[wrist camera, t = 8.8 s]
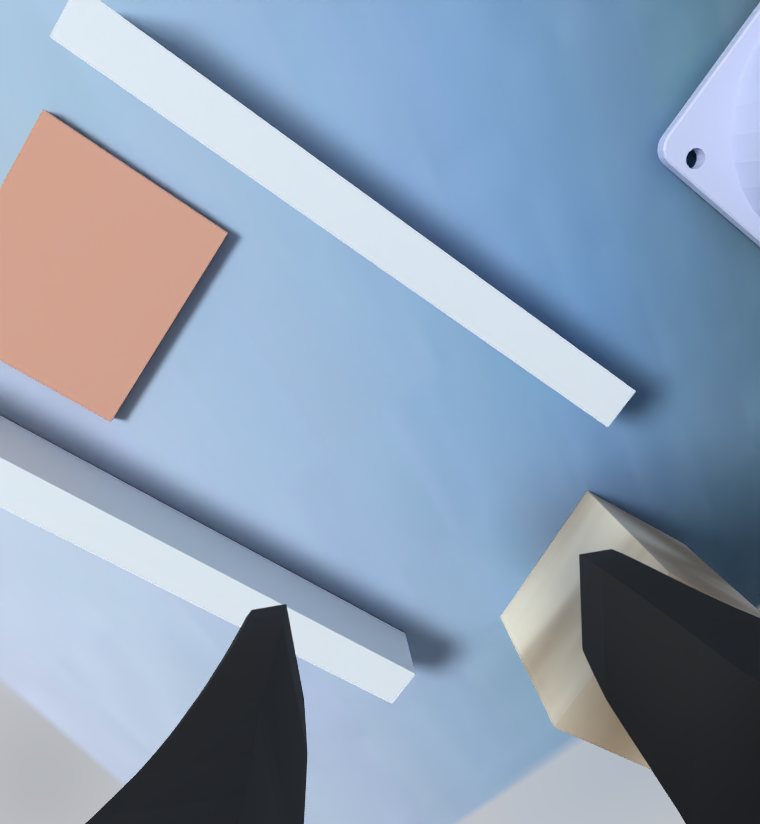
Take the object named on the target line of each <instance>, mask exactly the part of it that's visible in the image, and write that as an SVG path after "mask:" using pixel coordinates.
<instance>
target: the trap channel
mask: <svg viewBox="0 0 760 824" xmlns="http://www.w3.org/2000/svg"><path fill="white" fill-rule="evenodd" d="M49 37H51V38H52V39H53V40H55V41H56V42H58V43H59V44H61V45H62V46H63V47H65V48H66V49H68V50H69V51H71V52H72V53H73V54H75V55H76V56H78V57H79V58H81V59H82V60H83V61H85V62H86V63H88V64H89V65H91V66H92V67H93V68H95V69H96V70H98V71H99V72H101V73H102V74H103V75H105V76H106V77H108V78H109V79H111V80H112V81H113V82H115V83H116V84H118V85H119V86H121V87H122V88H123V89H125V90H126V91H128V92H129V93H131V94H132V95H133V96H135V97H136V98H138V99H139V100H141V101H142V102H144V103H145V104H146V105H148V106H149V107H151V108H152V109H154V110H155V111H156V112H158V113H159V114H161V115H162V116H164V117H165V118H166V119H168V120H169V121H171V122H172V123H174V124H175V125H176V126H178V127H179V128H181V129H182V130H184V131H185V132H186V133H188V134H189V135H191V136H192V137H194V138H195V139H196V140H198V141H199V142H201V143H202V144H204V145H205V146H206V147H208V148H209V149H211V150H212V151H214V152H215V153H216V154H218V155H219V156H221V157H222V158H224V159H225V160H226V161H228V162H229V163H231V164H232V165H234V166H235V167H236V168H238V169H239V170H241V171H242V172H244V173H245V174H246V175H248V176H249V177H251V178H252V179H254V180H255V181H256V182H258V183H259V184H261V185H262V186H264V187H265V188H266V189H268V190H269V191H271V192H272V193H274V194H275V195H276V196H278V197H279V198H281V199H282V200H284V201H285V202H286V203H288V204H289V205H291V206H292V207H294V208H295V209H296V210H298V211H299V212H301V213H302V214H304V215H305V216H306V217H308V218H309V219H311V220H312V221H314V222H315V223H316V224H318V225H319V226H321V227H322V228H324V229H325V230H326V231H328V232H329V233H331V234H332V235H334V236H335V237H336V238H338V239H339V240H341V241H342V242H344V243H345V244H346V245H348V246H349V247H351V248H352V249H354V250H355V251H357V252H358V253H359V254H361V255H362V256H364V257H365V258H367V259H368V260H369V261H371V262H372V263H374V264H375V265H377V266H378V267H379V268H381V269H382V270H384V271H385V272H387V273H388V274H389V275H391V276H392V277H394V278H395V279H397V280H398V281H399V282H401V283H402V284H404V285H405V286H407V287H408V288H409V289H411V290H412V291H414V292H415V293H417V294H418V295H419V296H421V297H422V298H424V299H425V300H427V301H428V302H429V303H431V304H432V305H434V306H435V307H437V308H438V309H439V310H441V311H442V312H444V313H445V314H447V315H448V316H449V317H451V318H452V319H454V320H455V321H457V322H458V323H459V324H461V325H462V326H464V327H465V328H467V329H468V330H469V331H471V332H472V333H474V334H475V335H477V336H478V337H479V338H481V339H482V340H484V341H485V342H487V343H488V344H489V345H491V346H492V347H494V348H495V349H497V350H498V351H499V352H501V353H502V354H504V355H505V356H507V357H508V358H509V359H511V360H512V361H514V362H515V363H517V364H518V365H519V366H521V367H522V368H524V369H525V370H527V371H528V372H529V373H531V374H532V375H534V376H535V377H537V378H538V379H539V380H541V381H542V382H544V383H545V384H547V385H548V386H549V387H551V388H552V389H554V390H555V391H557V392H558V393H559V394H561V395H562V396H564V397H565V398H567V399H568V400H570V401H571V402H572V403H574V404H575V405H577V406H578V407H580V408H581V409H582V410H584V411H585V412H587V413H588V414H590V415H591V416H592V417H594V418H595V419H597V420H598V421H600V422H601V423H602V424H604V425H605V426H607V427H608V426H609V425H610V424H611V423H612V421H613V420H614V419H615V417H616V416H617V415H618V414H619V412H620V411H621V410H622V408H623V407H624V406H625V405H626V403H627V402H628V401H629V399H630V398H631V397H632V396H633V394H634V393H635V392H636V391H635V390H634V389H632V388H631V387H630V386H628V385H627V384H625V383H624V382H623V381H621V380H620V379H619V378H617V377H616V376H614V375H613V374H612V373H610V372H609V371H608V370H606V369H605V368H603V367H602V366H601V365H599V364H598V363H597V362H595V361H594V360H592V359H591V358H590V357H588V356H587V355H586V354H584V353H583V352H582V351H580V350H579V349H577V348H576V347H575V346H573V345H572V344H571V343H569V342H568V341H566V340H565V339H564V338H562V337H561V336H560V335H558V334H557V333H555V332H554V331H553V330H551V329H550V328H549V327H547V326H546V325H544V324H543V323H542V322H540V321H539V320H538V319H536V318H535V317H533V316H532V315H531V314H529V313H528V312H527V311H525V310H524V309H522V308H521V307H520V306H518V305H517V304H516V303H514V302H513V301H512V300H510V299H509V298H507V297H506V296H505V295H503V294H502V293H501V292H499V291H498V290H496V289H495V288H494V287H492V286H491V285H490V284H488V283H487V282H485V281H484V280H483V279H481V278H480V277H479V276H477V275H476V274H474V273H473V272H472V271H470V270H469V269H468V268H466V267H465V266H463V265H462V264H461V263H459V262H458V261H457V260H455V259H454V258H452V257H451V256H450V255H448V254H447V253H446V252H444V251H443V250H442V249H440V248H439V247H437V246H436V245H435V244H433V243H432V242H431V241H429V240H428V239H426V238H425V237H424V236H422V235H421V234H420V233H418V232H417V231H415V230H414V229H413V228H411V227H410V226H409V225H407V224H406V223H404V222H403V221H402V220H400V219H399V218H398V217H396V216H395V215H393V214H392V213H391V212H389V211H388V210H387V209H385V208H384V207H382V206H381V205H380V204H378V203H377V202H376V201H374V200H373V199H372V198H370V197H369V196H367V195H366V194H365V193H363V192H362V191H361V190H359V189H358V188H356V187H355V186H354V185H352V184H351V183H350V182H348V181H347V180H345V179H344V178H343V177H341V176H340V175H339V174H337V173H336V172H334V171H333V170H332V169H330V168H329V167H328V166H326V165H325V164H323V163H322V162H321V161H319V160H318V159H317V158H315V157H314V156H312V155H311V154H310V153H308V152H307V151H306V150H304V149H303V148H301V147H300V146H299V145H297V144H296V143H295V142H293V141H292V140H291V139H289V138H288V137H286V136H285V135H284V134H282V133H281V132H280V131H278V130H277V129H275V128H274V127H273V126H271V125H270V124H269V123H267V122H266V121H264V120H263V119H262V118H260V117H259V116H258V115H256V114H255V113H253V112H252V111H251V110H249V109H248V108H247V107H245V106H244V105H242V104H241V103H240V102H238V101H237V100H236V99H234V98H233V97H231V96H230V95H229V94H227V93H226V92H225V91H223V90H222V89H221V88H219V87H218V86H216V85H215V84H214V83H212V82H211V81H210V80H208V79H207V78H205V77H204V76H203V75H201V74H200V73H199V72H197V71H196V70H194V69H193V68H192V67H190V66H189V65H188V64H186V63H185V62H183V61H182V60H181V59H179V58H178V57H177V56H175V55H174V54H172V53H171V52H170V51H168V50H167V49H166V48H164V47H163V46H161V45H160V44H159V43H157V42H156V41H155V40H153V39H152V38H151V37H149V36H148V35H146V34H145V33H144V32H142V31H141V30H140V29H138V28H137V27H135V26H134V25H133V24H131V23H130V22H129V21H127V20H126V19H124V18H123V17H122V16H120V15H119V14H118V13H116V12H115V11H113V10H112V9H111V8H109V7H108V6H107V5H105V4H104V3H102V2H101V1H100V0H69V1H68V3H67V5H66V7H65V8H64V10H63V12H62V14H61V16H60V18H59V20H58V21H57V23H56V25H55V27H54V29H53V31H52V33H51V35H50V36H49ZM227 234H228V232H227V231H225V230H224V229H222V228H221V227H219V226H218V225H216V224H215V223H213V222H212V221H210V220H209V219H207V218H206V217H204V216H203V215H201V214H200V213H198V212H197V211H195V210H194V209H192V208H191V207H189V206H188V205H186V204H185V203H183V202H182V201H180V200H179V199H178V198H176V197H175V196H173V195H172V194H170V193H169V192H167V191H166V190H164V189H163V188H161V187H160V186H158V185H157V184H155V183H154V182H152V181H151V180H149V179H148V178H146V177H145V176H143V175H142V174H140V173H139V172H137V171H136V170H134V169H133V168H131V167H130V166H128V165H127V164H125V163H124V162H122V161H121V160H119V159H118V158H116V157H115V156H113V155H112V154H110V153H109V152H107V151H106V150H104V149H103V148H101V147H100V146H98V145H97V144H95V143H94V142H92V141H91V140H89V139H88V138H86V137H85V136H83V135H82V134H80V133H79V132H77V131H76V130H74V129H73V128H71V127H70V126H68V125H67V124H65V123H64V122H62V121H61V120H59V119H58V118H56V117H55V116H53V115H52V114H50V113H49V112H48V111H45V110H43V111H42V112H41V114H40V116H39V118H38V120H37V122H36V123H35V125H34V127H33V129H32V131H31V133H30V134H29V136H28V138H27V140H26V142H25V144H24V145H23V147H22V149H21V151H20V153H19V155H18V156H17V158H16V160H15V162H14V164H13V166H12V167H11V169H10V171H9V173H8V175H7V177H6V179H5V180H4V182H3V184H2V186H1V188H0V360H1V361H3V362H4V363H6V364H8V365H10V366H12V367H13V368H15V369H17V370H19V371H20V372H22V373H24V374H26V375H28V376H29V377H31V378H33V379H35V380H37V381H38V382H40V383H42V384H44V385H45V386H47V387H49V388H51V389H53V390H54V391H56V392H58V393H60V394H62V395H63V396H65V397H67V398H69V399H70V400H72V401H74V402H76V403H78V404H79V405H81V406H83V407H85V408H87V409H88V410H90V411H92V412H94V413H96V414H97V415H99V416H101V417H103V418H104V419H106V420H108V421H110V422H111V421H112V420H113V418H114V417H115V415H116V413H117V412H118V410H119V409H120V407H121V405H122V404H123V402H124V401H125V399H126V397H127V396H128V394H129V392H130V391H131V389H132V388H133V386H134V384H135V383H136V381H137V380H138V378H139V376H140V375H141V373H142V372H143V370H144V368H145V367H146V365H147V363H148V362H149V360H150V359H151V357H152V355H153V354H154V352H155V351H156V349H157V347H158V346H159V344H160V342H161V341H162V339H163V338H164V336H165V334H166V333H167V331H168V330H169V328H170V326H171V325H172V323H173V322H174V320H175V318H176V317H177V315H178V313H179V312H180V310H181V309H182V307H183V305H184V304H185V302H186V301H187V299H188V297H189V296H190V294H191V292H192V291H193V289H194V288H195V286H196V284H197V283H198V281H199V280H200V278H201V276H202V275H203V273H204V272H205V270H206V268H207V267H208V265H209V263H210V262H211V260H212V259H213V257H214V255H215V254H216V252H217V251H218V249H219V247H220V246H221V244H222V242H223V241H224V239H225V238H226V236H227ZM0 507H1V508H3V509H5V510H7V511H9V512H11V513H13V514H15V515H17V516H19V517H21V518H23V519H25V520H27V521H29V522H31V523H33V524H35V525H37V526H39V527H41V528H43V529H45V530H47V531H49V532H51V533H53V534H55V535H57V536H59V537H61V538H63V539H65V540H67V541H69V542H71V543H73V544H75V545H77V546H79V547H81V548H82V549H84V550H86V551H88V552H90V553H92V554H94V555H96V556H98V557H100V558H102V559H104V560H106V561H108V562H110V563H112V564H114V565H116V566H118V567H120V568H122V569H124V570H126V571H128V572H130V573H132V574H134V575H136V576H138V577H140V578H142V579H144V580H146V581H148V582H150V583H152V584H154V585H156V586H158V587H160V588H162V589H164V590H166V591H168V592H170V593H172V594H174V595H176V596H178V597H180V598H182V599H184V600H186V601H188V602H190V603H192V604H194V605H196V606H198V607H200V608H202V609H204V610H206V611H208V612H210V613H212V614H214V615H216V616H218V617H220V618H222V619H224V620H226V621H228V622H230V623H232V624H234V625H236V626H238V627H240V628H241V626H242V624H243V622H244V620H245V618H246V617H247V615H248V614H249V613H250V611H251V610H254V609H259V608H265V607H271V606H277V605H283V604H286V605H287V610H288V616H289V621H290V627H291V632H292V637H293V643H294V648H295V654H296V656H298V657H300V658H302V659H304V660H306V661H308V662H310V663H312V664H313V665H315V666H317V667H319V668H321V669H323V670H325V671H327V672H329V673H331V674H333V675H335V676H337V677H339V678H341V679H343V680H345V681H347V682H349V683H351V684H353V685H355V686H357V687H359V688H361V689H363V690H365V691H367V692H369V693H371V694H373V695H375V696H377V697H379V698H381V699H383V700H385V701H387V702H389V703H391V704H392V703H393V702H394V701H395V700H396V698H397V697H398V696H399V694H400V693H401V692H402V691H403V689H404V688H405V687H406V685H407V684H408V683H409V682H410V680H411V679H412V678H413V676H414V675H415V670H414V666H413V662H412V658H411V655H410V651H409V647H408V643H407V639H406V635H405V633H404V632H402V631H400V630H398V629H396V628H394V627H392V626H391V625H389V624H387V623H385V622H383V621H381V620H379V619H378V618H376V617H374V616H372V615H370V614H368V613H366V612H365V611H363V610H361V609H359V608H357V607H355V606H353V605H352V604H350V603H348V602H346V601H344V600H342V599H340V598H339V597H337V596H335V595H333V594H331V593H329V592H327V591H326V590H324V589H322V588H320V587H318V586H316V585H314V584H313V583H311V582H309V581H307V580H305V579H303V578H301V577H300V576H298V575H296V574H294V573H292V572H290V571H288V570H287V569H285V568H283V567H281V566H279V565H277V564H275V563H274V562H272V561H270V560H268V559H266V558H264V557H262V556H261V555H259V554H257V553H255V552H253V551H251V550H249V549H247V548H246V547H244V546H242V545H240V544H238V543H236V542H234V541H233V540H231V539H229V538H227V537H225V536H223V535H221V534H220V533H218V532H216V531H214V530H212V529H210V528H208V527H207V526H205V525H203V524H201V523H199V522H197V521H195V520H194V519H192V518H190V517H188V516H186V515H184V514H182V513H181V512H179V511H177V510H175V509H173V508H171V507H169V506H168V505H166V504H164V503H162V502H160V501H158V500H156V499H155V498H153V497H151V496H149V495H147V494H145V493H143V492H142V491H140V490H138V489H136V488H134V487H132V486H130V485H129V484H127V483H125V482H123V481H121V480H119V479H117V478H116V477H114V476H112V475H110V474H108V473H106V472H104V471H103V470H101V469H99V468H97V467H95V466H93V465H91V464H90V463H88V462H86V461H84V460H82V459H80V458H78V457H76V456H75V455H73V454H71V453H69V452H67V451H65V450H63V449H62V448H60V447H58V446H56V445H54V444H52V443H50V442H49V441H47V440H45V439H43V438H41V437H39V436H37V435H36V434H34V433H32V432H30V431H28V430H26V429H24V428H23V427H21V426H19V425H17V424H15V423H13V422H11V421H10V420H8V419H6V418H4V417H2V416H0Z"/></svg>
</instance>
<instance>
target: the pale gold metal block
mask: <svg viewBox="0 0 760 824" xmlns="http://www.w3.org/2000/svg"><path fill="white" fill-rule="evenodd" d="M608 549H613V550H615V551H618V552H620V553H623V554H625V555H627V556H629V557H631V558H633V559H635V560H637V561H639V562H641V563H643V564H646V565H648V566H650V567H652V568H654V569H656V570H658V571H660V572H662V573H664V574H666V575H668V576H670V577H672V578H674V579H676V580H678V581H680V582H682V583H684V584H686V585H688V586H690V587H692V588H694V589H696V590H698V591H700V592H702V593H704V594H707V595H709V596H711V597H713V598H715V599H717V600H719V601H722V602H724V603H726V604H728V605H731V606H733V607H735V608H737V609H740V610H742V611H745V612H747V613H749V614H752V615H754V616H756V617H759V618H760V611H759V610H758V609H757V608H755V607H754V606H753V605H752V604H751V603H750V602H749V601H748V600H746V599H745V598H744V597H743V596H742V595H741V594H740V593H739V592H737V591H736V590H735V589H734V588H733V587H732V586H731V585H730V584H729V583H727V582H726V581H725V580H724V579H723V578H722V577H721V576H720V575H718V574H717V573H716V572H715V571H714V570H713V569H712V568H711V567H709V566H708V565H707V564H706V563H705V562H704V561H703V560H702V559H700V558H699V557H698V556H697V555H696V554H695V553H694V552H693V551H691V550H690V549H689V548H688V547H687V546H686V545H685V544H683V543H682V542H680V541H678V540H676V539H674V538H673V537H671V536H669V535H667V534H665V533H663V532H662V531H660V530H658V529H656V528H654V527H653V526H651V525H649V524H647V523H645V522H644V521H642V520H640V519H638V518H636V517H634V516H633V515H631V514H629V513H627V512H625V511H624V510H622V509H620V508H618V507H616V506H615V505H613V504H611V503H609V502H607V501H605V500H604V499H602V498H600V497H598V496H596V495H595V494H593V493H591V492H589V491H587V492H586V494H585V495H584V497H583V498H582V499H581V501H580V502H579V504H578V505H577V507H576V508H575V510H574V511H573V512H572V514H571V515H570V517H569V518H568V520H567V521H566V523H565V524H564V525H563V527H562V528H561V530H560V531H559V533H558V534H557V536H556V537H555V538H554V540H553V541H552V543H551V544H550V546H549V547H548V549H547V550H546V551H545V553H544V554H543V556H542V557H541V559H540V560H539V562H538V563H537V564H536V566H535V567H534V569H533V570H532V572H531V573H530V575H529V576H528V577H527V579H526V580H525V582H524V583H523V585H522V586H521V588H520V589H519V590H518V592H517V593H516V595H515V596H514V598H513V599H512V601H511V602H510V603H509V605H508V606H507V608H506V609H505V611H504V612H503V614H502V615H501V616H500V617H501V619H502V621H503V623H504V625H505V627H506V629H507V631H508V634H509V636H510V638H511V640H512V642H513V644H514V646H515V648H516V650H517V652H518V654H519V656H520V658H521V660H522V662H523V664H524V666H525V668H526V670H527V672H528V674H529V676H530V678H531V680H532V682H533V684H534V687H535V689H536V691H537V693H538V695H539V697H540V699H541V701H542V703H543V705H544V707H545V709H546V711H547V713H548V715H549V717H550V719H551V721H552V723H553V725H554V727H555V728H557V729H560V730H562V731H564V732H566V733H569V734H571V735H573V736H576V737H578V738H580V739H582V740H585V741H587V742H590V743H592V744H594V745H596V746H599V747H601V748H603V749H605V750H608V751H610V752H612V753H615V754H617V755H619V756H622V757H624V758H626V759H628V760H631V761H633V762H635V763H637V764H640V765H642V766H645V767H647V768H649V769H651V768H650V767H649V765H648V764H647V762H646V761H645V759H644V758H643V756H642V755H641V753H640V751H639V750H638V748H637V747H636V745H635V744H634V742H633V741H632V739H631V738H630V736H629V735H628V733H627V732H626V730H625V728H624V727H623V725H622V724H621V722H620V721H619V719H618V717H617V716H616V714H615V713H614V711H613V710H612V708H611V706H610V705H609V703H608V702H607V700H606V698H605V696H604V694H603V692H602V690H601V688H600V686H599V684H598V682H597V680H596V678H595V676H594V674H593V672H592V670H591V667H590V665H589V663H588V661H587V659H586V657H585V654H584V652H583V650H582V625H581V596H580V567H579V554H585V553H590V552H596V551H602V550H608Z"/></svg>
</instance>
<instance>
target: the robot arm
mask: <svg viewBox="0 0 760 824" xmlns="http://www.w3.org/2000/svg"><path fill="white" fill-rule="evenodd" d="M691 150H694V151H695V153H696V155H697V161H696V163H695V165H694V166H693V167H692V168H689V167H688V165H687V163H686V157H687V154H688V152H689V151H691ZM657 152H658V156H659V159H660V160H661V162H662V163H663V164H664V165H665V166H666V167H667V168H668V169H670V170H671V171H672V172H673V173H674V174H675V175H677V176H678V177H679V178H680V179H681V180H682V181H684V182H685V183H686V184H687V185H688V186H689V187H690V188H692V189H693V190H694V191H695V192H696V193H697V194H699V195H700V196H701V197H702V198H703V199H704V200H706V201H707V202H708V203H709V204H710V205H711V206H713V207H714V208H715V209H716V210H717V211H718V212H720V213H721V214H722V215H723V216H724V217H725V218H727V219H728V220H729V221H730V222H731V223H732V224H734V225H735V226H736V227H737V228H738V229H739V230H741V231H742V232H743V233H744V234H745V235H746V236H748V237H749V238H750V239H751V240H752V241H753V242H755V243H756V244H757V245H758V246H759V247H760V2H759V4H758V5H757V6H756V8H755V9H754V11H753V12H752V13H751V15H750V16H749V17H748V19H747V20H746V22H745V23H744V24H743V26H742V27H741V28H740V30H739V31H738V33H737V34H736V35H735V37H734V38H733V39H732V41H731V42H730V44H729V45H728V46H727V48H726V49H725V50H724V52H723V53H722V54H721V56H720V57H719V59H718V60H717V61H716V63H715V64H714V65H713V67H712V68H711V70H710V71H709V72H708V74H707V75H706V76H705V78H704V79H703V81H702V82H701V83H700V85H699V86H698V87H697V89H696V90H695V92H694V93H693V94H692V96H691V97H690V98H689V100H688V101H687V102H686V104H685V105H684V107H683V108H682V109H681V111H680V112H679V113H678V115H677V116H676V118H675V119H674V120H673V122H672V123H671V124H670V126H669V127H668V129H667V130H666V131H665V133H664V134H663V135H662V137H661V139H660V141H659V143H658V150H657ZM579 567H580V596H581V625H582V650H583V652H584V654H585V657H586V659H587V661H588V663H589V665H590V667H591V670H592V672H593V674H594V676H595V678H596V680H597V682H598V684H599V686H600V688H601V690H602V692H603V694H604V696H605V698H606V700H607V702H608V703H609V705H610V706H611V708H612V710H613V711H614V713H615V714H616V716H617V717H618V719H619V721H620V722H621V724H622V725H623V727H624V728H625V730H626V732H627V733H628V735H629V736H630V738H631V739H632V741H633V742H634V744H635V745H636V747H637V748H638V750H639V751H640V753H641V755H642V756H643V758H644V759H645V761H646V762H647V764H648V765H649V767H650V768H651V770H652V771H653V773H654V774H655V776H656V777H657V779H658V781H659V782H660V784H661V785H662V787H663V788H664V790H665V791H666V793H667V794H668V796H669V797H670V799H671V800H672V802H673V803H674V805H675V807H676V808H677V810H678V811H679V813H680V814H681V816H682V818H683V820H684V821H685V823H686V824H760V618H759V617H756V616H754V615H752V614H749V613H747V612H745V611H742V610H740V609H737V608H735V607H733V606H731V605H728V604H726V603H724V602H722V601H719V600H717V599H715V598H713V597H711V596H709V595H707V594H704V593H702V592H700V591H698V590H696V589H694V588H692V587H690V586H688V585H686V584H684V583H682V582H680V581H678V580H676V579H674V578H672V577H670V576H668V575H666V574H664V573H662V572H660V571H658V570H656V569H654V568H652V567H650V566H648V565H646V564H643V563H641V562H639V561H637V560H635V559H633V558H631V557H629V556H627V555H625V554H623V553H620V552H618V551H615V550H613V549H608V550H602V551H596V552H590V553H585V554H579ZM306 771H307V740H306V723H305V708H304V697H303V692H302V686H301V681H300V675H299V670H298V665H297V659H296V654H295V648H294V643H293V637H292V632H291V627H290V621H289V616H288V610H287V605H286V604H283V605H277V606H271V607H265V608H259V609H254V610H251V611H250V613H249V614H248V615H247V617H246V618H245V620H244V622H243V624H242V626H241V628H240V629H239V631H238V633H237V635H236V637H235V639H234V640H233V642H232V644H231V646H230V647H229V649H228V651H227V652H226V654H225V656H224V657H223V659H222V661H221V662H220V664H219V665H218V667H217V669H216V670H215V672H214V673H213V675H212V676H211V678H210V680H209V681H208V683H207V684H206V686H205V687H204V689H203V690H202V692H201V693H200V695H199V696H198V698H197V699H196V700H195V702H194V703H193V705H192V706H191V707H190V709H189V710H188V711H187V713H186V714H185V716H184V717H183V718H182V720H181V721H180V723H179V724H178V725H177V727H176V728H175V729H174V730H173V732H172V733H171V734H170V736H169V737H168V738H167V739H166V741H165V742H164V743H163V744H162V745H161V747H160V748H159V749H158V750H157V751H156V753H155V754H154V755H153V756H152V757H151V758H150V760H149V761H148V762H147V763H146V764H145V765H144V766H143V767H142V769H141V770H140V771H139V772H138V773H137V774H136V775H135V776H134V777H133V778H132V779H131V780H130V781H129V782H128V783H127V784H126V785H125V786H124V787H123V788H122V789H121V790H120V791H119V792H118V793H117V794H116V795H115V796H114V797H113V798H112V799H111V800H110V801H109V802H108V803H106V804H105V805H104V807H102V808H101V810H99V811H98V812H97V813H96V814H95V815H94V816H93V817H92V818H91V819H90V820H89V821H88V822H87V823H86V824H304V809H305V791H306Z"/></svg>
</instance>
